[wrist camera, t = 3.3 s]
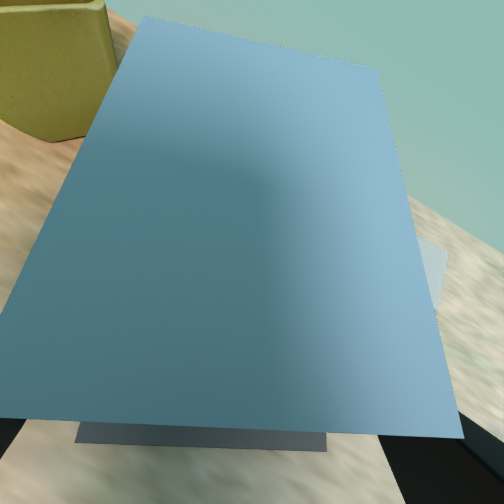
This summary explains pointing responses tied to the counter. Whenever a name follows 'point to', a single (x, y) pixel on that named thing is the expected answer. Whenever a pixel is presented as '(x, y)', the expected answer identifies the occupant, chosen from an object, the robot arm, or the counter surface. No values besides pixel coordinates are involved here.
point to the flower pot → (54, 65)
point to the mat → (199, 437)
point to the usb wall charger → (433, 268)
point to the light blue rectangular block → (230, 255)
